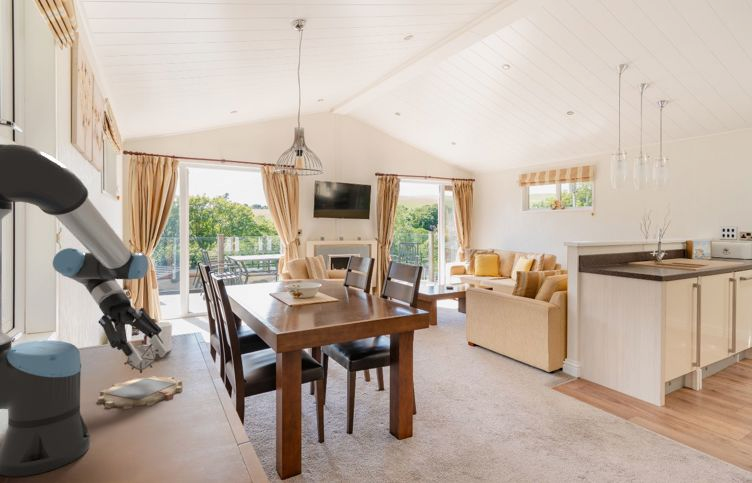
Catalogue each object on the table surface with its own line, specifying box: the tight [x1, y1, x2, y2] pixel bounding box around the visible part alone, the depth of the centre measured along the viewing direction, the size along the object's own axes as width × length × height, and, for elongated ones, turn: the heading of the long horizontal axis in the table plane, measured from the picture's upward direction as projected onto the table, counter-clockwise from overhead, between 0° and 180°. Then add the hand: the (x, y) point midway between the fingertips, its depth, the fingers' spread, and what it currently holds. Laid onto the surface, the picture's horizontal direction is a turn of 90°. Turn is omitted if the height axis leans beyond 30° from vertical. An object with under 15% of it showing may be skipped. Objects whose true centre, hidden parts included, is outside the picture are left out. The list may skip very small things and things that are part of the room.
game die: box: [123, 340, 159, 374], centre depth 118 cm, size 9×8×10 cm
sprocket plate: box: [97, 375, 183, 410], centre depth 118 cm, size 21×21×1 cm
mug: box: [147, 321, 173, 355], centre depth 157 cm, size 9×12×11 cm
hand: (152, 358), depth 117 cm, fingers closed on game die, 8 cm apart
